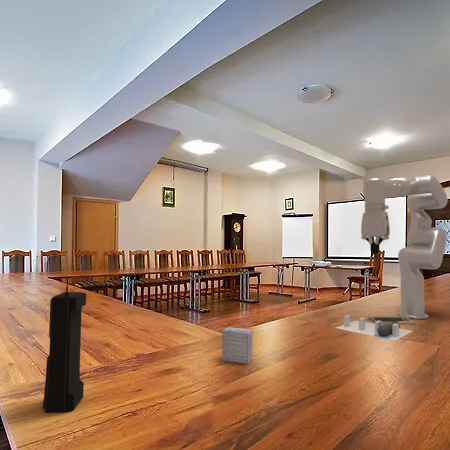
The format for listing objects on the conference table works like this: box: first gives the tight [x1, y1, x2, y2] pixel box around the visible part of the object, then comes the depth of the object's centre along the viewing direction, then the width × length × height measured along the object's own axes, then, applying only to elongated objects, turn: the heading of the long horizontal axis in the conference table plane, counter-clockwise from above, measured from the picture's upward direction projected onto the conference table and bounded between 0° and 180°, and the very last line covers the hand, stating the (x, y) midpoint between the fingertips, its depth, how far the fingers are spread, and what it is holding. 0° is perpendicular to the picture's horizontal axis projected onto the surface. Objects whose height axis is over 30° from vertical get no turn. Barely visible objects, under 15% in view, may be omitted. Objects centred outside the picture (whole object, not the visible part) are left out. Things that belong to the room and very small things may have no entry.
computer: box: [368, 315, 416, 326], centre depth 143 cm, size 16×8×3 cm, turn 93°
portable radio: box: [42, 283, 87, 413], centre depth 72 cm, size 8×6×25 cm
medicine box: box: [221, 326, 254, 365], centre depth 99 cm, size 8×4×9 cm, turn 71°
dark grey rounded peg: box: [377, 321, 401, 336], centre depth 125 cm, size 14×3×3 cm, turn 135°
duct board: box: [335, 314, 413, 341], centre depth 131 cm, size 18×22×5 cm
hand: (374, 254), depth 140 cm, fingers closed
